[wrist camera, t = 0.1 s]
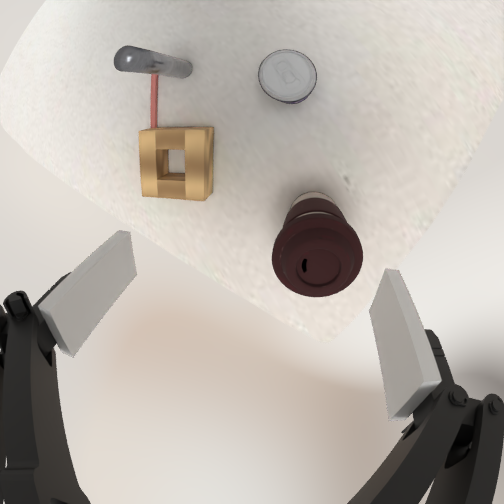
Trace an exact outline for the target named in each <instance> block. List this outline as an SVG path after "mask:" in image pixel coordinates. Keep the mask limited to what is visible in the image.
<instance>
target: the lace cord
mask: <svg viewBox="0 0 504 504" xmlns="http://www.w3.org/2000/svg"><path fill="white" fill-rule="evenodd" d="M157 90H158V75H155V74H152V76H151V128H157Z"/></svg>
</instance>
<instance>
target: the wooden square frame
mask: <svg viewBox="0 0 504 504" xmlns="http://www.w3.org/2000/svg"><path fill="white" fill-rule="evenodd" d="M213 135H214V127H163V128H150V129H145V130H141V131H139V155H140V173H141V187H142V196H143V197H157V198H171V199H183V200H195V201H205V200H206V199H207V198H208V197H209V196H210V195H211V194H212V181H213ZM168 149H179V150H185V173H169V172H168Z"/></svg>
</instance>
